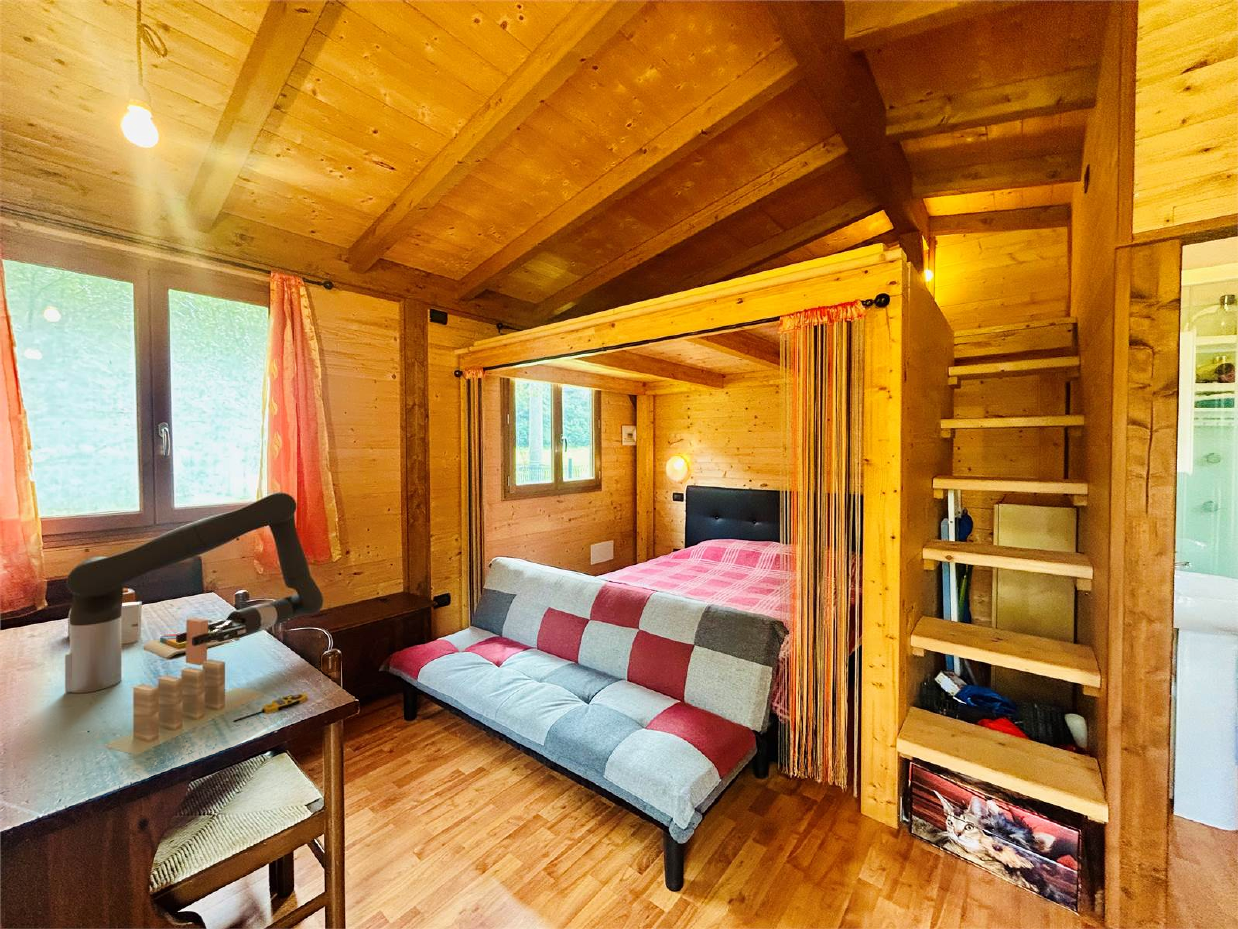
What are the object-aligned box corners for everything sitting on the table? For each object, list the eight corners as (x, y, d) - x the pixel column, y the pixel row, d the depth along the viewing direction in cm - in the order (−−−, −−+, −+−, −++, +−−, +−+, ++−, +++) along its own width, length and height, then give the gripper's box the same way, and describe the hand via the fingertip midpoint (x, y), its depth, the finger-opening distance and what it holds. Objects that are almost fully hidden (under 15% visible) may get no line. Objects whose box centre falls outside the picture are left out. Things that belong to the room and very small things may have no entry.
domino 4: (196, 720, 112) (197, 672, 112) (181, 717, 113) (181, 669, 113) (204, 717, 114) (204, 669, 113) (188, 713, 115) (189, 666, 115)
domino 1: (149, 742, 103) (149, 690, 103) (133, 738, 105) (133, 687, 105) (158, 738, 105) (158, 687, 105) (142, 734, 106) (142, 684, 106)
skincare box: (111, 645, 154) (111, 607, 154) (115, 641, 158) (115, 603, 158) (138, 641, 158) (138, 604, 158) (142, 637, 162) (142, 600, 161)
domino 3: (199, 665, 124) (200, 622, 124) (185, 662, 125) (186, 619, 125) (206, 663, 125) (207, 620, 125) (192, 660, 127) (193, 617, 126)
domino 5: (217, 710, 116) (217, 664, 116) (202, 707, 118) (202, 662, 118) (224, 707, 118) (225, 662, 118) (209, 704, 119) (209, 659, 119)
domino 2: (174, 731, 108) (174, 681, 108) (158, 727, 109) (158, 678, 109) (182, 727, 109) (182, 678, 109) (166, 723, 111) (166, 675, 110)
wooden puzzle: (240, 640, 162) (240, 630, 162) (167, 661, 145) (167, 649, 145) (213, 631, 170) (213, 621, 170) (141, 650, 153) (141, 638, 153)
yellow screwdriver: (310, 695, 122) (236, 720, 110) (310, 703, 122) (236, 729, 110) (302, 689, 125) (229, 713, 113) (302, 697, 125) (229, 721, 113)
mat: (136, 757, 99) (136, 755, 99) (103, 748, 102) (103, 746, 102) (265, 695, 125) (265, 693, 125) (236, 689, 128) (236, 687, 128)
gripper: (234, 603, 141) (164, 622, 124) (272, 609, 137) (206, 629, 120) (233, 629, 141) (164, 651, 124) (271, 636, 137) (205, 659, 121)
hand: (185, 640), depth 123 cm, fingers closed on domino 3, 5 cm apart
